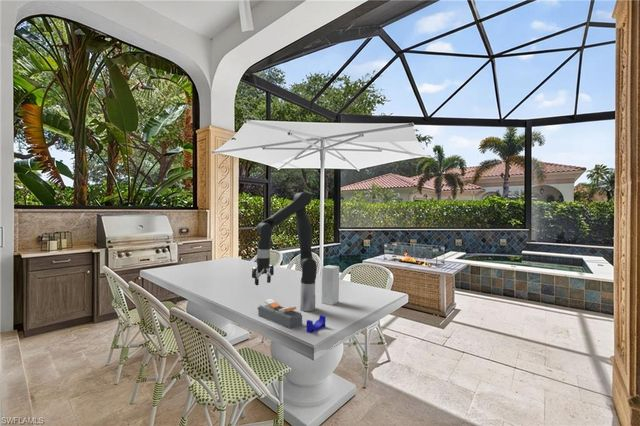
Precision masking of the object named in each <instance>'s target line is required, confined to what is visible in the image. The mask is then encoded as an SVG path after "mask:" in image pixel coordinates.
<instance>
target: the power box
mask: <svg viewBox="0 0 640 426" xmlns="http://www.w3.org/2000/svg"><path fill="white" fill-rule="evenodd" d="M282 308H285V306H283V305H282V306H281V305H280V307H279V308H276V309H272V308H271V307H270V306H269V305H267V304H266V305H262V304H259V306H258V307H257V310H258V316H259V317H261V318H263V319H266V320H267V321H271V322H272V323H275V324H278V325H281V326H282V327H286V328H288V329H293V328H296V327H298V326H301V325H302V324H303V315H302V312H300V311H296V310H291V311H279V309H282Z"/></svg>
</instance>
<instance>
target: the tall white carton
mask: <svg viewBox="0 0 640 426" xmlns="http://www.w3.org/2000/svg"><path fill="white" fill-rule="evenodd" d="M339 296H340V266H339V265H333V264H332V265H331V264H328V265H327V264H326V265H325V266H322V268H321V304H326V305H329V306H333V305H336V304H338V303H339V299H340V297H339Z"/></svg>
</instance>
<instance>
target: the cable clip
mask: <svg viewBox="0 0 640 426" xmlns="http://www.w3.org/2000/svg"><path fill="white" fill-rule="evenodd" d="M326 317H327V316H326V315H323V314H320V315H319V318H318V319H317V320H316V321H315V322H314V321H313V320H310V319H307V320H306V332H307V333H309V334H312V333H314V332H316V331H318V330H321V329H324V328H325V327H326ZM313 322H314V323H313Z"/></svg>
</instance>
